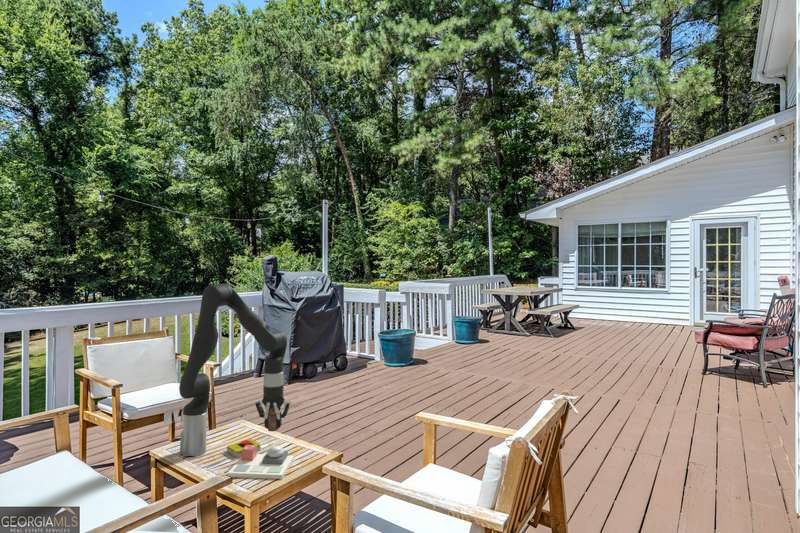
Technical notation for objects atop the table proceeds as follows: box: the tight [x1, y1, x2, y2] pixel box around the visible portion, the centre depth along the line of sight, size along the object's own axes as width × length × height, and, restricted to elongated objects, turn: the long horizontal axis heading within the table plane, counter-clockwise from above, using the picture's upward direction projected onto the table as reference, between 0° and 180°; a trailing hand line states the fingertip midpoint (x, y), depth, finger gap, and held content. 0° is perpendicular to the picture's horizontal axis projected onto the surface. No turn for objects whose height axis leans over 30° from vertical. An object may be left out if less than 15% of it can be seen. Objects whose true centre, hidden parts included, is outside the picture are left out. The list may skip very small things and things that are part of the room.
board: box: [227, 450, 295, 480], centre depth 175 cm, size 21×17×4 cm
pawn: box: [267, 408, 279, 432], centre depth 170 cm, size 4×4×9 cm
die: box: [242, 445, 258, 461], centre depth 180 cm, size 4×4×5 cm
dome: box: [266, 445, 285, 458], centre depth 179 cm, size 6×6×4 cm
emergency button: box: [221, 438, 264, 461], centre depth 190 cm, size 9×4×15 cm
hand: (273, 427), depth 170 cm, fingers closed on pawn, 3 cm apart
